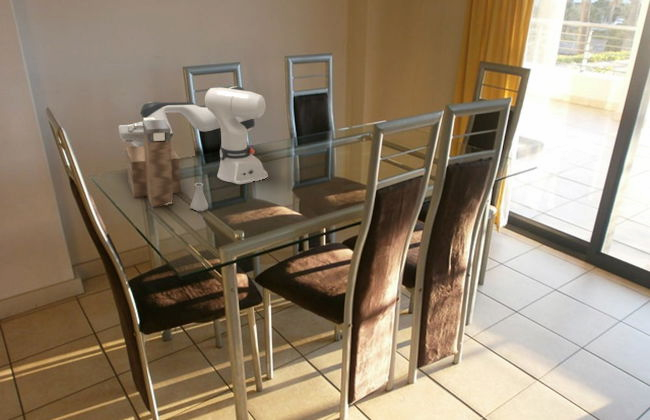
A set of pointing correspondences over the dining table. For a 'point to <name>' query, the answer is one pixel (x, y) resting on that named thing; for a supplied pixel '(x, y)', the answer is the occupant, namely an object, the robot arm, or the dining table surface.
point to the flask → (199, 199)
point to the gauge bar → (156, 135)
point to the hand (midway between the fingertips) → (146, 125)
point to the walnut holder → (154, 166)
